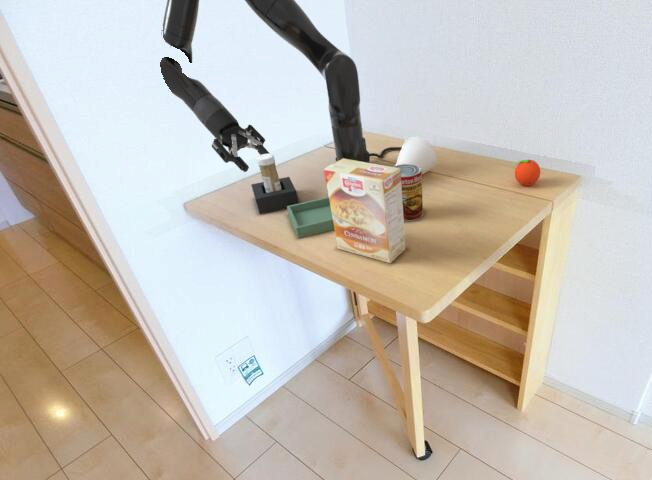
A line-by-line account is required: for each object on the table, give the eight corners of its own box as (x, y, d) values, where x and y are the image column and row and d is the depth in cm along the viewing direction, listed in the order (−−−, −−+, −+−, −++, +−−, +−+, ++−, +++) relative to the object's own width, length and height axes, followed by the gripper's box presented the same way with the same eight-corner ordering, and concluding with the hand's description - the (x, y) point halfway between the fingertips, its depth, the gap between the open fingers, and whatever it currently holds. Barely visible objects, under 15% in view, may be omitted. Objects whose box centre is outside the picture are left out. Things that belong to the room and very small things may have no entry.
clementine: (508, 188, 123) (510, 163, 118) (511, 178, 128) (513, 154, 123) (537, 190, 120) (541, 165, 116) (539, 180, 125) (543, 156, 121)
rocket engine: (385, 163, 117) (417, 128, 126) (365, 181, 127) (396, 148, 136) (414, 195, 120) (443, 159, 129) (392, 210, 130) (421, 176, 139)
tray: (344, 203, 122) (342, 193, 120) (358, 223, 112) (357, 213, 110) (288, 215, 118) (286, 206, 116) (298, 238, 108) (295, 228, 106)
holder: (292, 191, 131) (289, 176, 128) (299, 205, 123) (296, 190, 120) (255, 198, 128) (251, 184, 125) (259, 214, 120) (255, 199, 117)
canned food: (401, 224, 110) (398, 178, 103) (387, 212, 116) (383, 168, 108) (428, 216, 113) (427, 171, 105) (413, 204, 118) (411, 161, 111)
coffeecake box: (336, 249, 103) (322, 168, 91) (354, 235, 107) (342, 157, 95) (390, 264, 96) (382, 180, 84) (406, 249, 101) (401, 166, 89)
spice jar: (287, 202, 125) (276, 156, 116) (272, 207, 123) (259, 160, 115) (281, 197, 128) (270, 151, 120) (266, 201, 126) (253, 155, 118)
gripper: (198, 115, 110) (243, 165, 113) (239, 100, 120) (280, 147, 122) (191, 134, 116) (235, 182, 118) (231, 119, 125) (271, 163, 128)
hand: (258, 164), depth 120 cm, fingers open, 8 cm apart
